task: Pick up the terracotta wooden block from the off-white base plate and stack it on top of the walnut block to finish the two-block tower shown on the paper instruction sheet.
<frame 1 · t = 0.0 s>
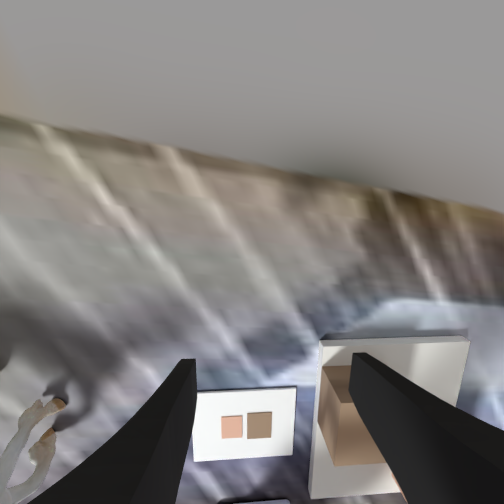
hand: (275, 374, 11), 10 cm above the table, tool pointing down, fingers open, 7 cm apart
base plate: (379, 416, 25), on the table
unicorn figurine: (41, 378, 21), on the table
walnut block: (350, 392, 22), point 1 cm above the table, touching base plate
instruction sheet: (243, 424, 24), on the table
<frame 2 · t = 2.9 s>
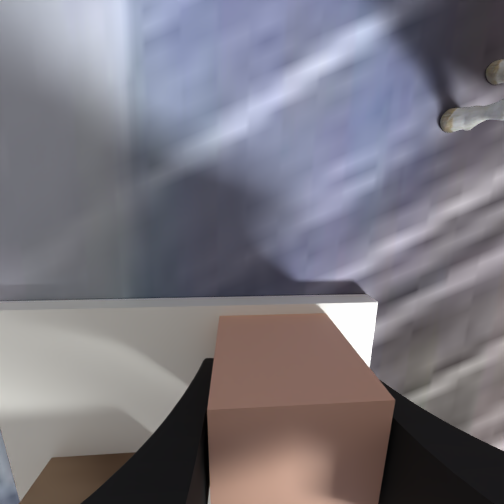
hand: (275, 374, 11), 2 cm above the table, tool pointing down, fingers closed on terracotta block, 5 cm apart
base plate: (195, 415, 13), on the table
walnut block: (120, 497, 13), point 1 cm above the table, touching base plate
terracotta block: (272, 361, 12), point 1 cm above the table, touching base plate, gripper
when the fingers open (7 cm above the table, at t = 6.3 s): terracotta block stays where it is, resting on walnut block.
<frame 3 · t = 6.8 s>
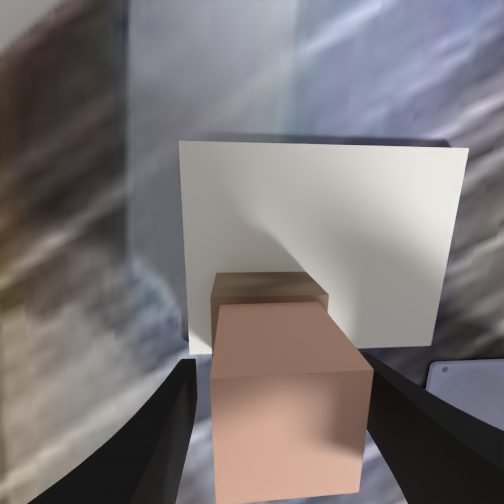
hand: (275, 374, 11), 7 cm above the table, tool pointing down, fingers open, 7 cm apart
base plate: (316, 253, 17), on the table
walnut block: (261, 313, 16), point 1 cm above the table, touching base plate, terracotta block
terracotta block: (269, 347, 13), point 5 cm above the table, touching walnut block
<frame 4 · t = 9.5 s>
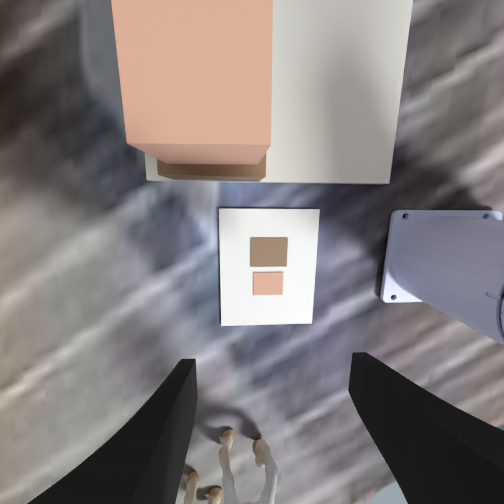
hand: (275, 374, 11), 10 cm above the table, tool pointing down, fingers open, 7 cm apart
base plate: (272, 80, 17), on the table
unicorn figurine: (203, 442, 24), on the table
walnut block: (216, 136, 17), point 1 cm above the table, touching base plate, terracotta block
terracotta block: (211, 114, 13), point 5 cm above the table, touching walnut block
instruction sheet: (268, 269, 20), on the table
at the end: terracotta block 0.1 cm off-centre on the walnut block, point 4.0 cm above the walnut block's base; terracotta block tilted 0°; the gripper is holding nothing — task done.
